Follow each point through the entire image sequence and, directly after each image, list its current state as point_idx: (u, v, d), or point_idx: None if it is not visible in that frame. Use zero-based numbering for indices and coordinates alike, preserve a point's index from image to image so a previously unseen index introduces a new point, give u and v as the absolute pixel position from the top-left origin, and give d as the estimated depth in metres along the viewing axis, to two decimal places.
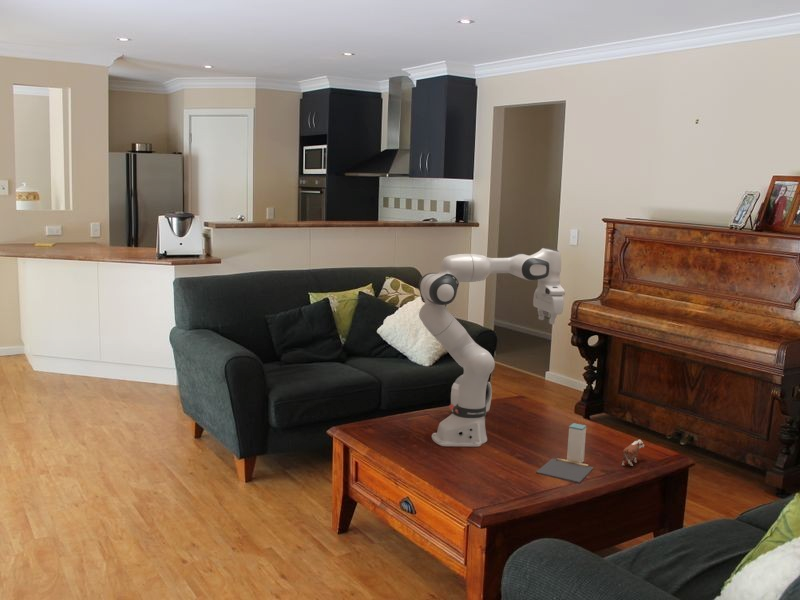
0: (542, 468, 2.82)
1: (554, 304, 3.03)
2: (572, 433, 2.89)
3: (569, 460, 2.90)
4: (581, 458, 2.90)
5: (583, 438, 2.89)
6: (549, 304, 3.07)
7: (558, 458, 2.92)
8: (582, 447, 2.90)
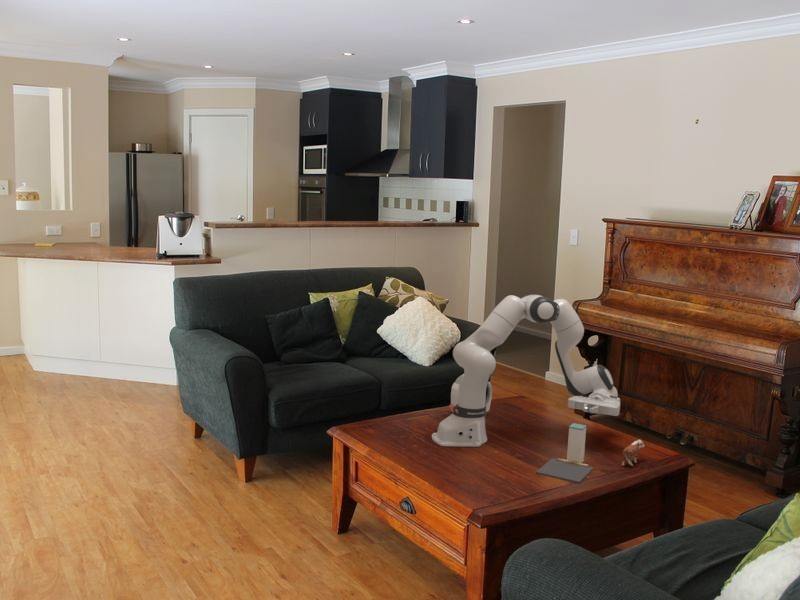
0: (542, 468, 2.82)
1: (619, 405, 3.02)
2: (572, 433, 2.89)
3: (569, 460, 2.90)
4: (581, 458, 2.90)
5: (583, 438, 2.89)
6: (608, 403, 3.04)
7: (558, 458, 2.92)
8: (582, 447, 2.90)
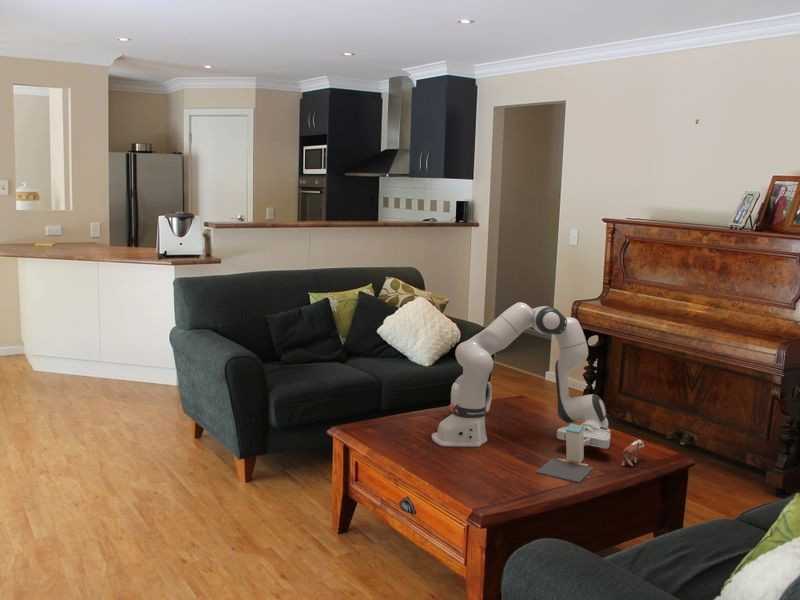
0: (542, 468, 2.82)
1: (609, 437, 2.94)
2: (569, 436, 2.86)
3: (569, 460, 2.90)
4: (581, 457, 2.89)
5: (581, 439, 2.87)
6: (598, 435, 2.96)
7: (558, 458, 2.92)
8: (581, 447, 2.88)
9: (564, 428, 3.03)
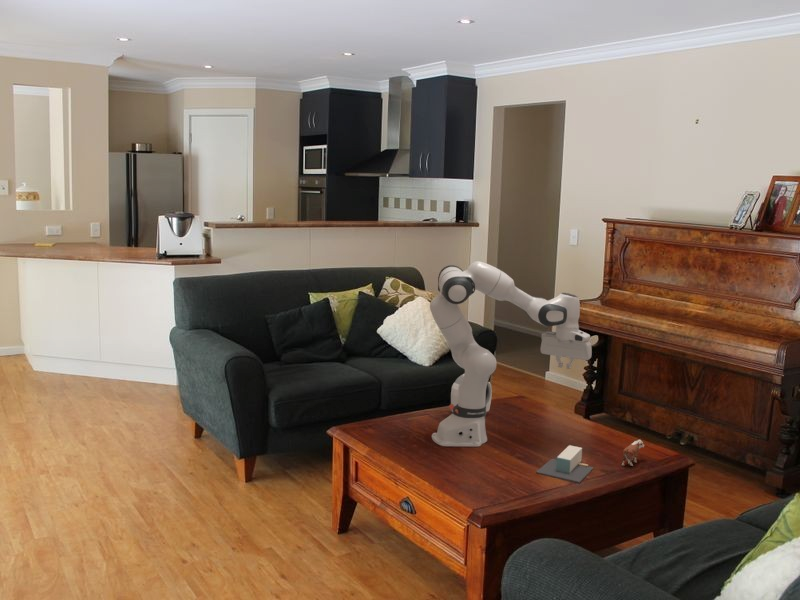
0: (542, 468, 2.82)
1: (588, 350, 3.01)
2: None
3: None
4: (580, 457, 2.88)
5: (573, 462, 2.82)
6: (577, 350, 3.03)
7: None
8: (576, 460, 2.85)
9: (545, 345, 3.10)
